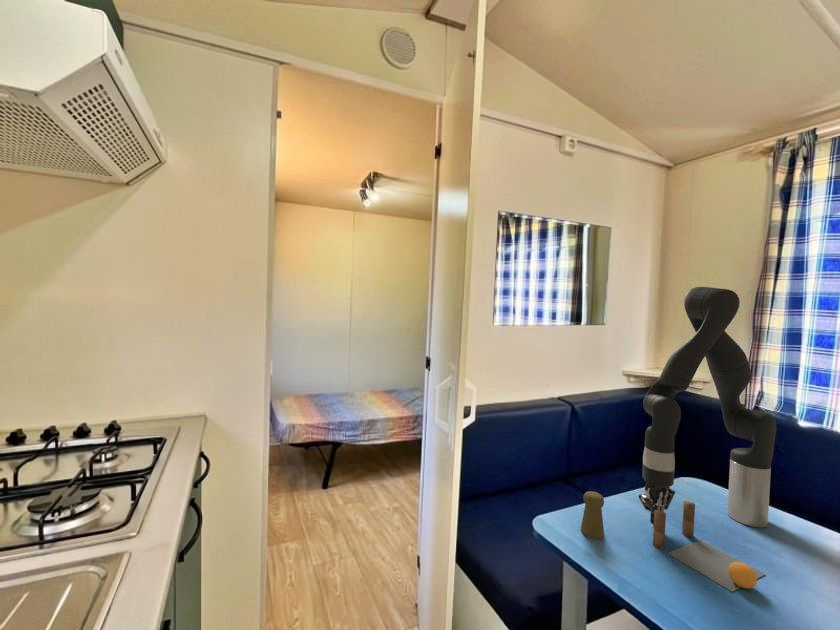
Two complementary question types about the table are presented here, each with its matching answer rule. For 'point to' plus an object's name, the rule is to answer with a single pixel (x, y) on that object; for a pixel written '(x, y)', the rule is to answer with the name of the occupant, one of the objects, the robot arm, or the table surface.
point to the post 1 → (659, 529)
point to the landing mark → (710, 562)
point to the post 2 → (688, 519)
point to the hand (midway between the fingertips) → (655, 524)
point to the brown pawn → (593, 516)
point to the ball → (742, 575)
